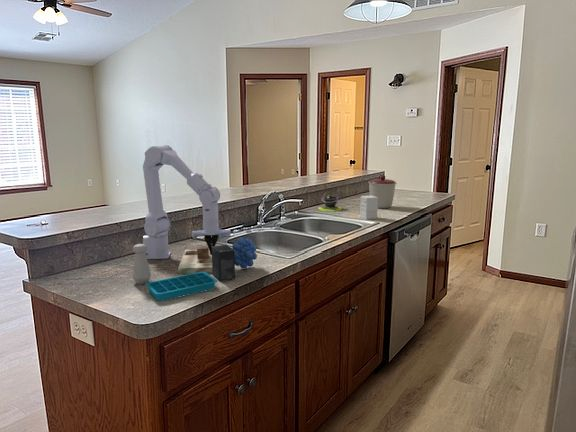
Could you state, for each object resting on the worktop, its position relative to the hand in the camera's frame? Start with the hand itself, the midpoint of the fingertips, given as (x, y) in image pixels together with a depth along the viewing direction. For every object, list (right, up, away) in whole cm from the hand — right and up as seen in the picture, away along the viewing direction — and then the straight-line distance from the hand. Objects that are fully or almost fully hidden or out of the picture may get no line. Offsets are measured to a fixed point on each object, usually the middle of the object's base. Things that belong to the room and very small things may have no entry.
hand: (212, 254), depth 163 cm
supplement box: (+76, +13, +81) cm, 112 cm away
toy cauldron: (+56, +19, +109) cm, 124 cm away
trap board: (-5, -3, -1) cm, 6 cm away
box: (+7, -7, -16) cm, 19 cm away
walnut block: (-3, -1, -1) cm, 3 cm away
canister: (+90, +20, +114) cm, 147 cm away
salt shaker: (-20, -8, -21) cm, 30 cm away
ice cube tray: (-4, -10, -28) cm, 30 cm away
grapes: (+14, -5, -8) cm, 17 cm away
